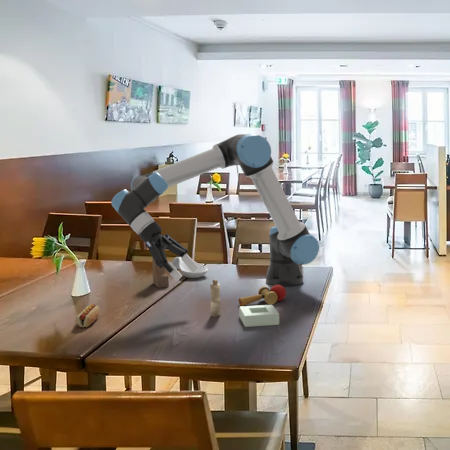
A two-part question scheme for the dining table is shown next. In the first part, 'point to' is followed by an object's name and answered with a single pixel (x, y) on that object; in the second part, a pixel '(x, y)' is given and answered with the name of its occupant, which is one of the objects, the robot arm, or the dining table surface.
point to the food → (88, 316)
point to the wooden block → (159, 275)
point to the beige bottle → (215, 298)
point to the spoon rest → (186, 271)
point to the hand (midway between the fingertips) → (188, 274)
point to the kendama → (266, 295)
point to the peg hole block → (258, 315)
